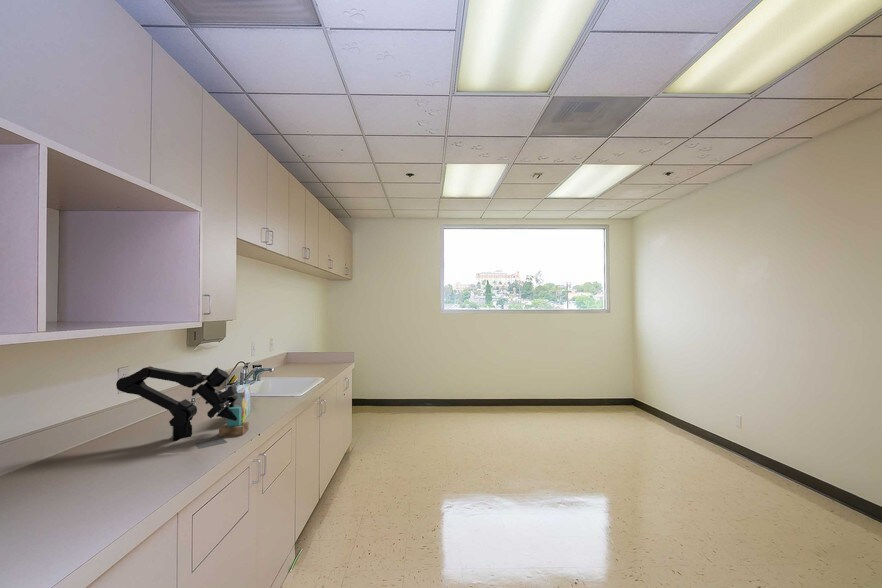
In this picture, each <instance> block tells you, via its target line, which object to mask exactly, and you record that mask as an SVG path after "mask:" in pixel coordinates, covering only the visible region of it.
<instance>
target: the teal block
mask: <svg viewBox="0 0 882 588" xmlns="http://www.w3.org/2000/svg"><path fill="white" fill-rule="evenodd" d="M229 409H230V410H231V412H232V413H233V414H234V415H235V416H236V418H237V420H236V421H234V420H230V419H227V418H226V423H227V427H233V426H241V423H242V422H241V407H229Z"/></svg>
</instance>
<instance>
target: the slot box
mask: <svg viewBox="0 0 882 588" xmlns="http://www.w3.org/2000/svg"><path fill="white" fill-rule="evenodd" d="M249 423H250V422H249V421H243V422H241V426H233V427H227V422H226V423H224V424H223V425H221V426H220V427H219V428H218V437H235V436H243V435H245V434H246V433H247V432H248V431H249Z"/></svg>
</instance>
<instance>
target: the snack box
mask: <svg viewBox="0 0 882 588" xmlns="http://www.w3.org/2000/svg"><path fill="white" fill-rule="evenodd" d="M236 388H237V392H238V393H236V394H235V396H236V397H237V399H236V400H235V403H234V407H241V423H242V422H245V421H244V420H246V419H247V418H246V417H248V416H249V415H250V413H251V412H252V411H251V384H249V383H248V384H247V383H246V384H240V385H238V386H237V387H236Z"/></svg>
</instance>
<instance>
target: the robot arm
mask: <svg viewBox="0 0 882 588" xmlns="http://www.w3.org/2000/svg"><path fill="white" fill-rule="evenodd" d="M148 378H151V379H157V380H162V381H163V380H164V381H167V382H175V383H177V384H179V385H180V386H183V387H185V388H189V389H190V388H191V391H192V392H191V396H192V397H194V396H196V395H199V396H200V397H201V398H202V399H203V400H205V402H204V403H205V404H206V405H208V404H209V405H210V406H211V409H210V410H208V412H207V417H208V418H210V419H212V418H214V417H215V416H216V417H219V418H224V419H226V420H227V419H230V420H234V421H236V420H237V418H236V416H235V415H234V414H233V413H232V412H231V410H230V409H229V407H234V403H235V400H236V399H237V397H236V396H235V394H236V393H238V392H237V387H236V386H234V385H230V386H228V387H227V390H224V391H222V390H217V389H216V388H219V387H221V385H223V384H224V383H225V382H226V381H227V380H228V379H229V378H230V375H229V373H228V372H227V371H226V370H223V369H221V368H219V367H218V366H217V367H214V368H213V370H212V371H211V372H210V373H209V374H202V373H201V372H199V371H187V372H186V371H182V372H181V371H176V370H175V371H174V370H169V369H164V368H158V367H153V366H150V365H149V366H146V367H142V368H141V369H139V370H138V371H136V372H134V373H132V374H130V375H128V376H125V377H120V378H119V379H118V380H116V390H118V391H120V392H122V393H125V394H131V395H136V396H140V397H141V398H144V399H146V400H147V401H149V402H151V403H153V404H155V405H157V406H159V407H161V408H163V409H165V410H167V411H169V412H170V414H171V416H172V418H171V419H170V420H168V423H169V426H171V429H172V430H171V431H172V432H171V439H172V441H173V442H174V441H179V440H181V439H187V438H192V435H193V425H192V423H191V421H192V420H193V417H195V416H196V414H197V413H198V408H197V406H196V405H195V403H194V402H192V401H189V400H188V399H186V398H185V399H183V400H181V401H179V400H176V399H174V398H172V397H170V396H168V395H166V394H165V393H162V392H160V391H158V390H156V389H155V388H152V387H151V386H148V385H147V384H146V382H145V380H147V379H148ZM194 387H196V388H194ZM192 388H193V389H192ZM216 414H217V415H216Z"/></svg>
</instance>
